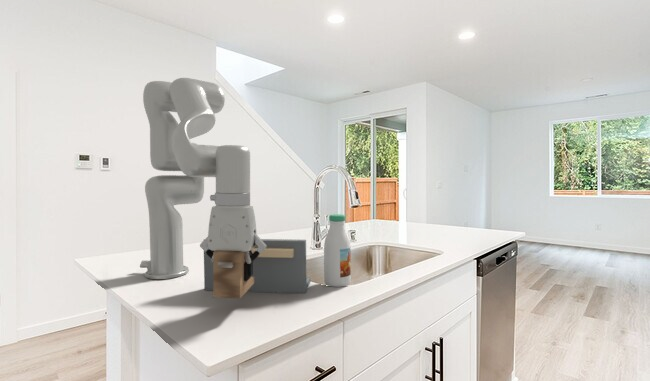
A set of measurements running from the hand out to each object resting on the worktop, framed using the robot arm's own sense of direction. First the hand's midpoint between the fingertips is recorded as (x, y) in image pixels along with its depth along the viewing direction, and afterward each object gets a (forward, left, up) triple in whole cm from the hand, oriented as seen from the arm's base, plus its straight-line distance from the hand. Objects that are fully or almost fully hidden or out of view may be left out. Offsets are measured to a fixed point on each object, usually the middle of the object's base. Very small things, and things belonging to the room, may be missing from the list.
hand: (233, 277), depth 77 cm
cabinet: (0, 0, -3) cm, 3 cm away
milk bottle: (+23, +23, -8) cm, 33 cm away
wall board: (+1, +18, -8) cm, 19 cm away
